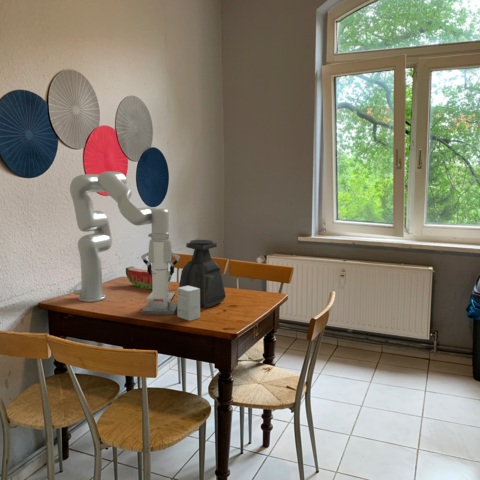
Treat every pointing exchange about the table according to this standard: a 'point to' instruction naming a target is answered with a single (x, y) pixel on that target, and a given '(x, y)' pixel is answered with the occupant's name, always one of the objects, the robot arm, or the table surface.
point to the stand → (160, 305)
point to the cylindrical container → (159, 272)
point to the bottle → (203, 274)
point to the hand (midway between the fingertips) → (160, 274)
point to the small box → (188, 302)
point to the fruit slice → (141, 277)
